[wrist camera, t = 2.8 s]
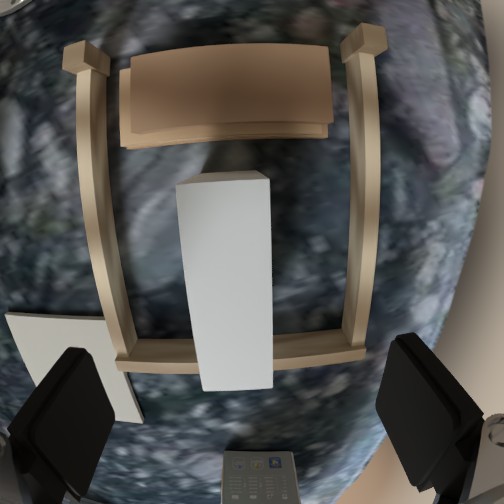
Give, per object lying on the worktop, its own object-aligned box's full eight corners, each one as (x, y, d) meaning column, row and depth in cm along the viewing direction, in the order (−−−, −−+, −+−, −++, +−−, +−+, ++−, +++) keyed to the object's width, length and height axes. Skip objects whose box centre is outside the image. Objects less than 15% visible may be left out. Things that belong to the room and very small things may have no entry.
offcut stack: (133, 77, 16) (106, 59, 12) (317, 66, 16) (338, 44, 12) (134, 149, 18) (106, 148, 13) (321, 138, 18) (345, 134, 14)
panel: (200, 173, 18) (175, 184, 11) (256, 170, 19) (269, 179, 11) (212, 314, 22) (203, 391, 14) (261, 312, 22) (272, 387, 14)
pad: (8, 311, 21) (4, 314, 20) (109, 316, 21) (106, 320, 21) (50, 404, 24) (48, 407, 24) (144, 419, 25) (143, 423, 24)
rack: (91, 62, 15) (64, 47, 12) (359, 46, 16) (384, 27, 12) (126, 348, 22) (111, 379, 18) (354, 337, 23) (372, 366, 19)
